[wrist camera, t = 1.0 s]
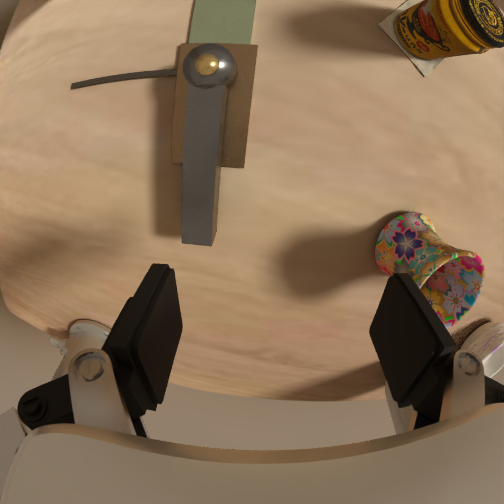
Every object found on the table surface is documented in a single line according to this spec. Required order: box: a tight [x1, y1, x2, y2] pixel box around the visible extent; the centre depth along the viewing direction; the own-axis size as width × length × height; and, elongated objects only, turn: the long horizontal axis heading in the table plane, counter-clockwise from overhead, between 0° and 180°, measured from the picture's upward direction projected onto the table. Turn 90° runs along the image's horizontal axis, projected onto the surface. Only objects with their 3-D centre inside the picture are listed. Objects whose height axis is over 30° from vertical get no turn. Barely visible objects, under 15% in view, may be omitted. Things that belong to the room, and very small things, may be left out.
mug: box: [375, 212, 485, 329], centre depth 24 cm, size 12×9×11 cm
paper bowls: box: [460, 322, 504, 378], centre depth 35 cm, size 15×15×8 cm
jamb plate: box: [71, 43, 258, 168], centre depth 21 cm, size 20×12×1 cm, turn 84°
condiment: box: [378, 0, 504, 77], centre depth 11 cm, size 7×8×12 cm
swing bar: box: [182, 43, 237, 246], centre depth 21 cm, size 18×4×4 cm, turn 174°
